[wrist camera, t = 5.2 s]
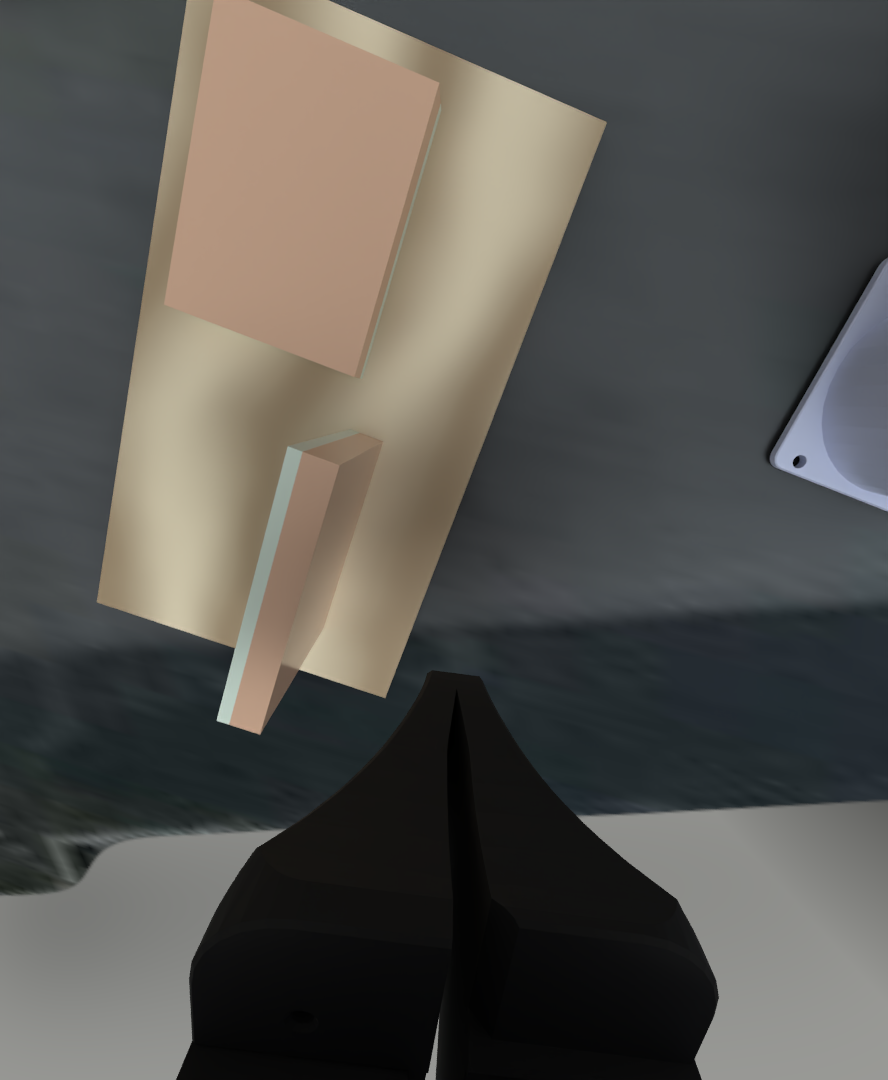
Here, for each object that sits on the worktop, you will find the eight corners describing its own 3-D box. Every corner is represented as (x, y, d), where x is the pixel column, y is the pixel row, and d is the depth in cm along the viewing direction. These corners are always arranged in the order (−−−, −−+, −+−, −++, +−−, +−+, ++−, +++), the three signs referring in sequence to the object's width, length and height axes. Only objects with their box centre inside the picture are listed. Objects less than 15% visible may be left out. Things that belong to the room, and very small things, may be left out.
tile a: (439, 83, 14) (215, -15, 14) (354, 377, 17) (163, 304, 16) (441, 110, 15) (237, 23, 15) (362, 378, 18) (186, 311, 17)
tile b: (383, 441, 19) (339, 465, 12) (323, 628, 21) (259, 734, 14) (350, 429, 19) (287, 446, 12) (294, 618, 21) (216, 720, 14)
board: (601, 132, 16) (606, 122, 15) (387, 690, 23) (385, 698, 22) (206, -40, 15) (195, -58, 14) (106, 596, 22) (97, 602, 21)
